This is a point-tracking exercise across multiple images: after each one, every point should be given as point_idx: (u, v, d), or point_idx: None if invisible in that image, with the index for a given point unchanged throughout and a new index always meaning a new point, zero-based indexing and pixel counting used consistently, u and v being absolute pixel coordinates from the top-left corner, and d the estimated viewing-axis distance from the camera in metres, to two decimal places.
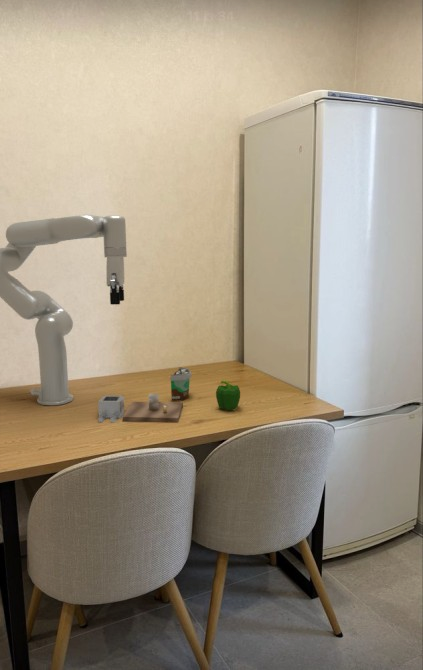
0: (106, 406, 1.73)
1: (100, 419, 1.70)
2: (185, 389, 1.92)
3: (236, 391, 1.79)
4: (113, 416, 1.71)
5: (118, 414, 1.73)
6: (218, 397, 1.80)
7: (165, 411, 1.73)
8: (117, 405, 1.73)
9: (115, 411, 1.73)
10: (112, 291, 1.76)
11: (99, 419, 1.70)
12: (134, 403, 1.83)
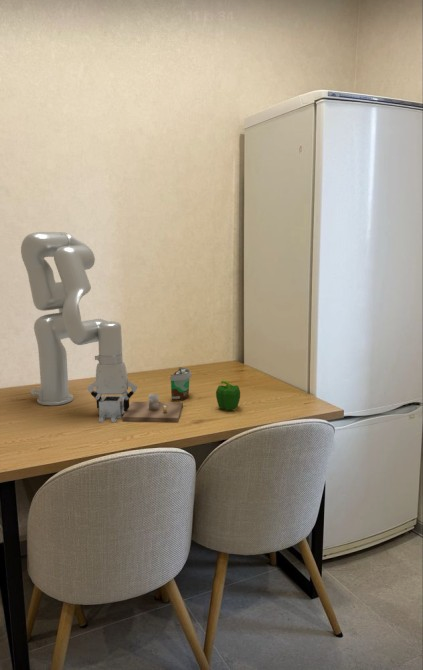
0: (107, 406, 1.73)
1: (101, 419, 1.70)
2: (185, 389, 1.92)
3: (236, 391, 1.79)
4: (114, 416, 1.71)
5: (119, 414, 1.73)
6: (218, 397, 1.80)
7: (165, 411, 1.73)
8: (118, 405, 1.73)
9: (115, 411, 1.73)
10: None
11: (100, 419, 1.70)
12: (134, 403, 1.83)
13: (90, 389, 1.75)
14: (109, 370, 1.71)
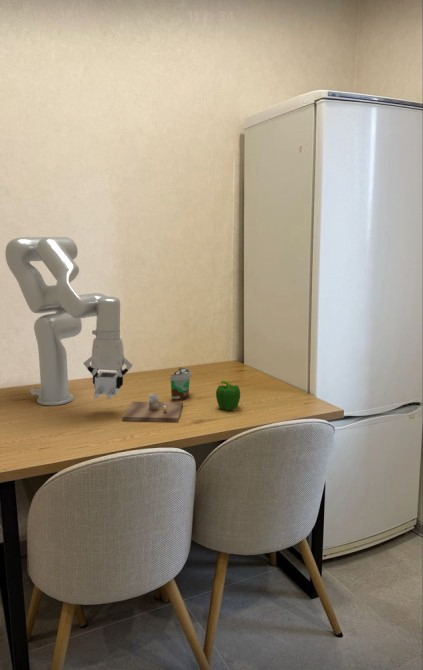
0: (103, 383, 1.72)
1: (96, 395, 1.69)
2: (185, 389, 1.92)
3: (236, 391, 1.79)
4: (109, 393, 1.70)
5: (114, 391, 1.73)
6: (218, 397, 1.80)
7: (165, 411, 1.73)
8: (114, 382, 1.72)
9: (111, 387, 1.72)
10: None
11: (95, 395, 1.69)
12: (134, 403, 1.83)
13: (86, 364, 1.74)
14: (106, 345, 1.70)
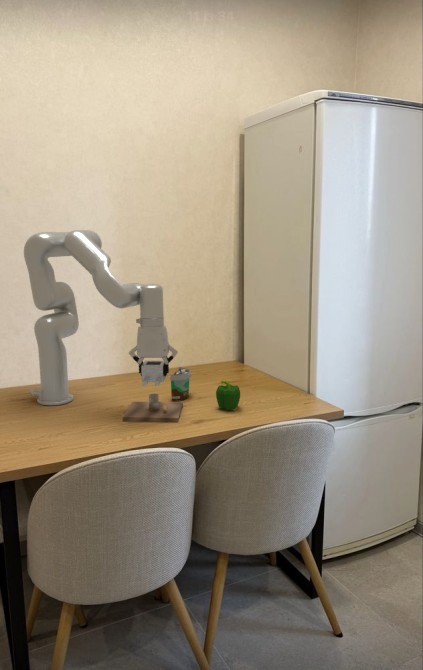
0: (149, 370, 1.71)
1: (144, 382, 1.68)
2: (185, 389, 1.92)
3: (236, 391, 1.79)
4: (157, 379, 1.69)
5: (161, 378, 1.72)
6: (218, 397, 1.80)
7: (165, 411, 1.73)
8: (160, 369, 1.71)
9: (158, 375, 1.72)
10: None
11: (143, 382, 1.68)
12: (134, 403, 1.83)
13: (132, 354, 1.74)
14: (151, 333, 1.70)
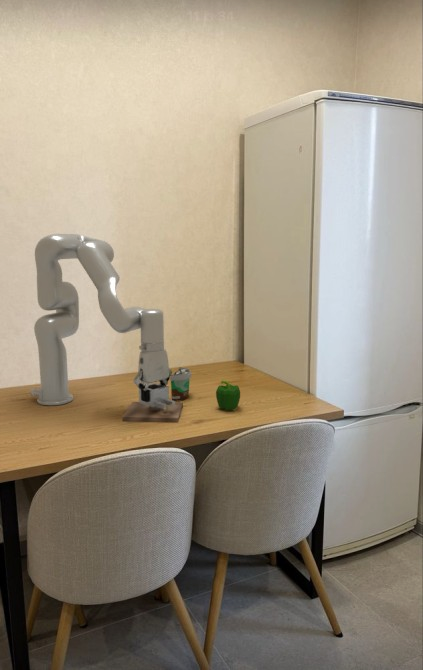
0: (159, 394, 1.73)
1: (164, 406, 1.71)
2: (185, 389, 1.92)
3: (236, 391, 1.79)
4: (170, 400, 1.74)
5: None
6: (218, 397, 1.80)
7: (165, 411, 1.73)
8: (167, 390, 1.76)
9: (165, 396, 1.76)
10: None
11: (164, 406, 1.70)
12: (134, 403, 1.83)
13: (138, 381, 1.70)
14: (158, 357, 1.72)
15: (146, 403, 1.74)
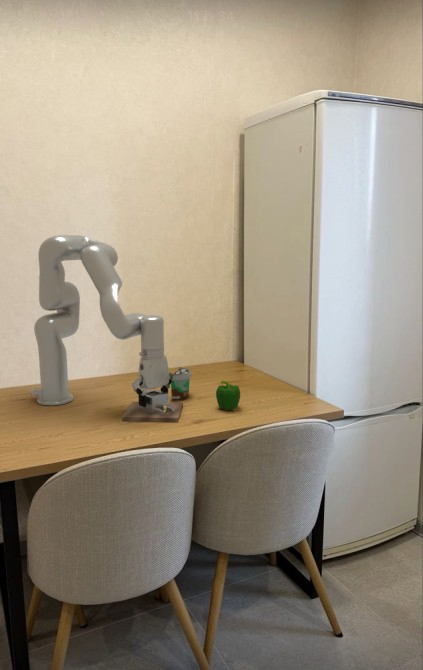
0: (158, 401, 1.74)
1: (164, 413, 1.71)
2: (185, 389, 1.92)
3: (236, 391, 1.79)
4: (170, 407, 1.75)
5: (167, 405, 1.77)
6: (218, 397, 1.80)
7: None
8: (166, 397, 1.77)
9: (164, 403, 1.76)
10: None
11: (163, 413, 1.71)
12: (134, 403, 1.83)
13: (136, 386, 1.70)
14: (158, 363, 1.73)
15: (146, 410, 1.75)
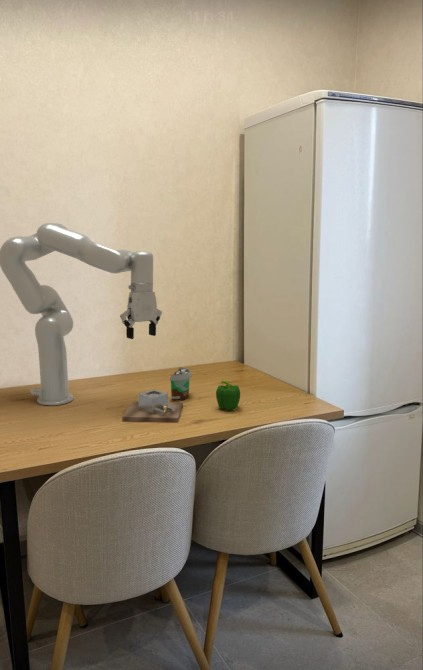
0: (158, 401, 1.74)
1: (164, 413, 1.71)
2: (185, 389, 1.92)
3: (236, 391, 1.79)
4: (170, 407, 1.75)
5: (167, 405, 1.77)
6: (218, 397, 1.80)
7: None
8: (166, 397, 1.77)
9: (164, 403, 1.76)
10: None
11: (163, 413, 1.71)
12: (134, 403, 1.83)
13: (124, 317, 1.77)
14: (146, 297, 1.80)
15: (146, 410, 1.75)
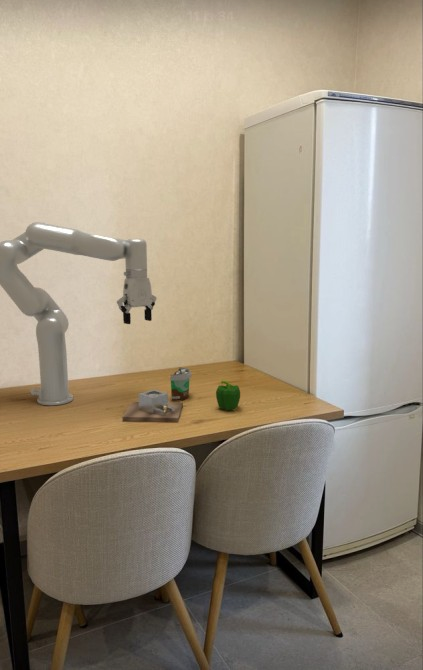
0: (158, 401, 1.74)
1: (164, 413, 1.71)
2: (185, 389, 1.92)
3: (236, 391, 1.79)
4: (170, 407, 1.75)
5: (167, 405, 1.77)
6: (218, 397, 1.80)
7: None
8: (166, 397, 1.77)
9: (164, 403, 1.76)
10: None
11: (163, 413, 1.71)
12: (134, 403, 1.83)
13: (121, 303, 1.83)
14: (141, 283, 1.86)
15: (146, 410, 1.75)
